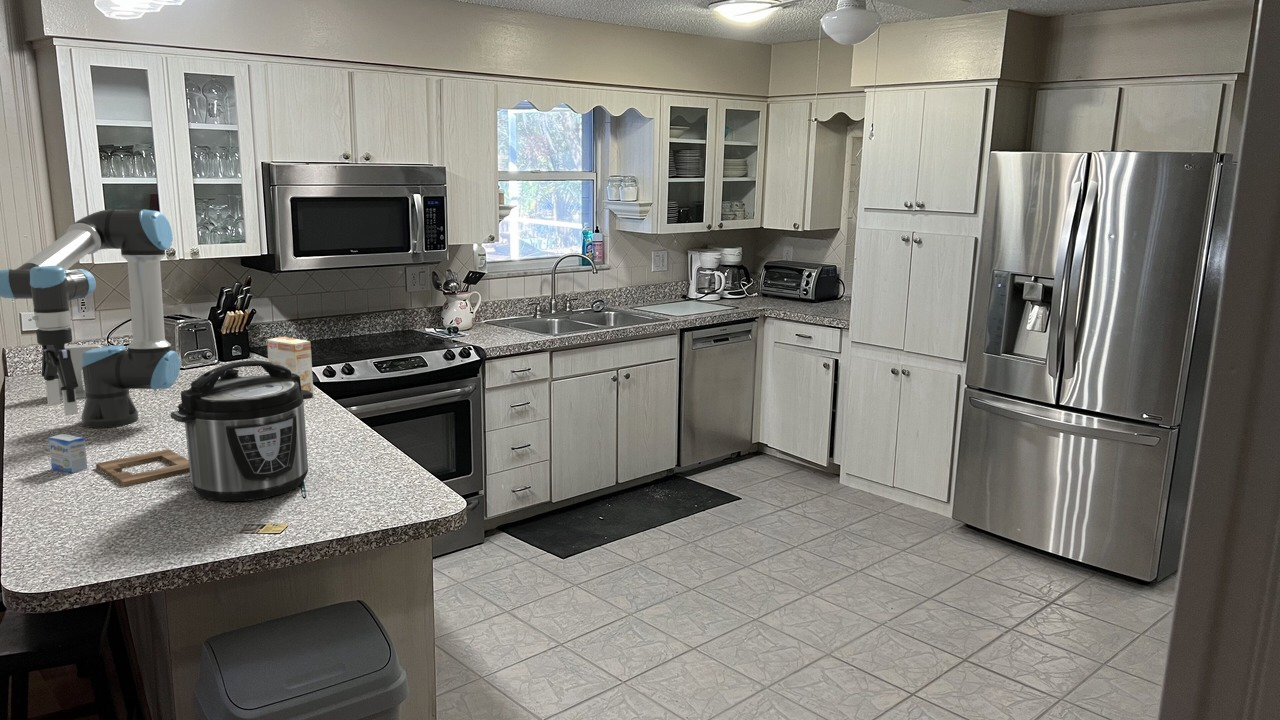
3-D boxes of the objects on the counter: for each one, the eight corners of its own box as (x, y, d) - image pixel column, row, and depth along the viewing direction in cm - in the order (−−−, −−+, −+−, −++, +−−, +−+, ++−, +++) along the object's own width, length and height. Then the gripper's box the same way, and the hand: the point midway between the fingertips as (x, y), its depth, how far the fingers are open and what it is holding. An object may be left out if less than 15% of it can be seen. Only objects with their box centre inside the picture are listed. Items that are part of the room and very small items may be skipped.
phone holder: (107, 389, 319) (102, 339, 315) (107, 395, 311) (102, 344, 307) (48, 394, 311) (42, 343, 307) (47, 401, 302) (41, 348, 298)
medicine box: (51, 469, 235) (47, 437, 234) (67, 464, 239) (63, 433, 238) (72, 473, 233) (68, 441, 231) (88, 468, 237) (84, 436, 235)
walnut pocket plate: (96, 468, 237) (95, 463, 237) (168, 453, 250) (168, 449, 250) (124, 486, 224) (123, 481, 224) (199, 469, 237) (198, 465, 237)
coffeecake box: (314, 396, 315) (311, 340, 311) (297, 400, 309) (293, 344, 305) (287, 389, 323) (283, 336, 319) (269, 393, 317) (265, 339, 313)
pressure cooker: (169, 511, 209) (157, 377, 202) (199, 472, 236) (188, 352, 229) (307, 503, 215) (299, 372, 209) (320, 465, 242) (313, 349, 236)
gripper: (21, 323, 234) (31, 403, 238) (52, 335, 217) (61, 421, 222) (54, 320, 239) (63, 398, 243) (86, 332, 223) (95, 415, 227)
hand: (62, 409), depth 233 cm, fingers open, 13 cm apart
